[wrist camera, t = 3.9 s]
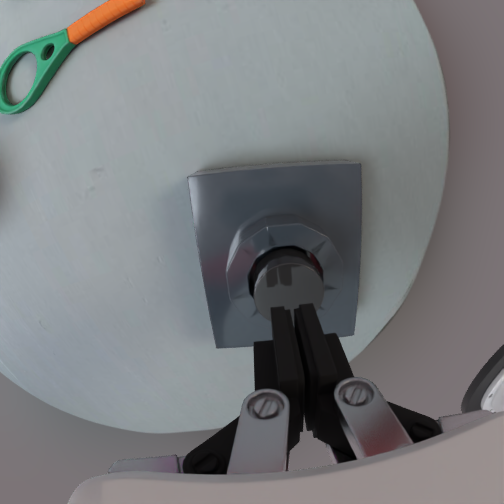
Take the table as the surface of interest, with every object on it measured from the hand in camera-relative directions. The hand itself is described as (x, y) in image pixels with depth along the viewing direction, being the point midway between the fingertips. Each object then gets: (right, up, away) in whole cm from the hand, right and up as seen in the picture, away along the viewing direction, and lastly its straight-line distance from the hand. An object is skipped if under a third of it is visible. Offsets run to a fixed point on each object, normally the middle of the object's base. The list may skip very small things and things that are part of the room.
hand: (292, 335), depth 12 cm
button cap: (0, +2, +5) cm, 6 cm away
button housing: (0, +4, +10) cm, 10 cm away
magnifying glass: (-16, +19, +4) cm, 25 cm away
